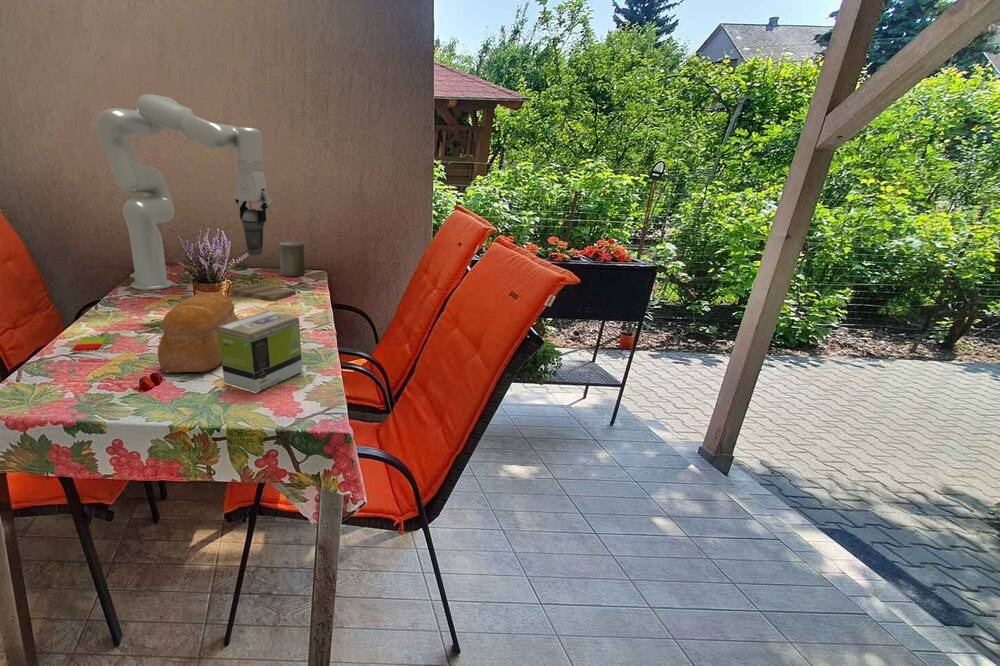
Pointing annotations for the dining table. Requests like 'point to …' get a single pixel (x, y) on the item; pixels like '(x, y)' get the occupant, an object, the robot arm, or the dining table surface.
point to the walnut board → (264, 292)
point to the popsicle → (90, 343)
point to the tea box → (260, 350)
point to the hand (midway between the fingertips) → (253, 220)
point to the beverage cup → (253, 231)
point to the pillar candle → (292, 258)
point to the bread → (194, 333)
